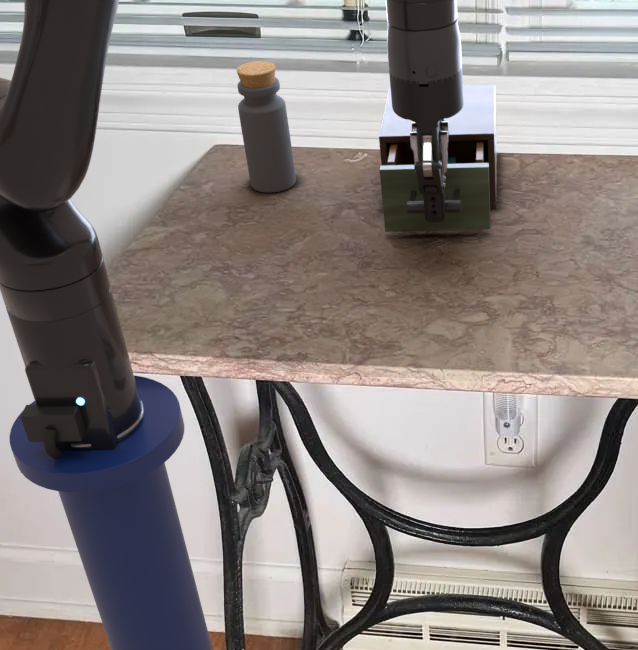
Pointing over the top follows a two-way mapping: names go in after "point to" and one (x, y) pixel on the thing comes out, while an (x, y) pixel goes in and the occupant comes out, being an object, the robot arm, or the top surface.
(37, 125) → the robot arm
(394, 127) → the cabinet
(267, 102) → the bottle
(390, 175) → the drawer
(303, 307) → the top surface
